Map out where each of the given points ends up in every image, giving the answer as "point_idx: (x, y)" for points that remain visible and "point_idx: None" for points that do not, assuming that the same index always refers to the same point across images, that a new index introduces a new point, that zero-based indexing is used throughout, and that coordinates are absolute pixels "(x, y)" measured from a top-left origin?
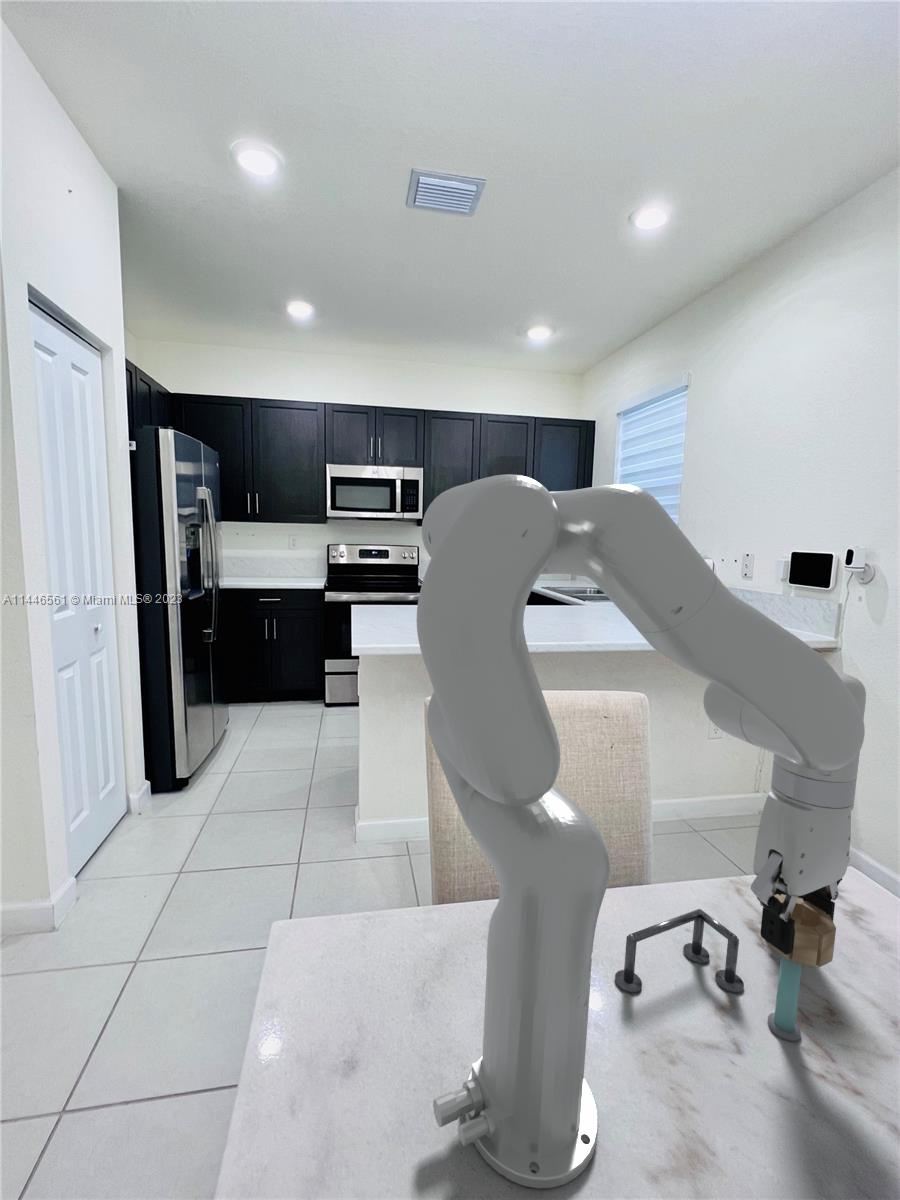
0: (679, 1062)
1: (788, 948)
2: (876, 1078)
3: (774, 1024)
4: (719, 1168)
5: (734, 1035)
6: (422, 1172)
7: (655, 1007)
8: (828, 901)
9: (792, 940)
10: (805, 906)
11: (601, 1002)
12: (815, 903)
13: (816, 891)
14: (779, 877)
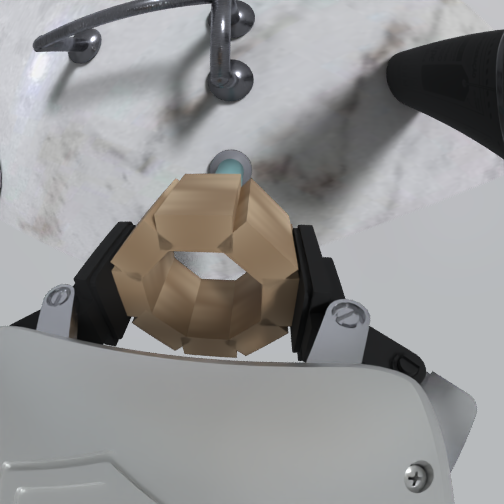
0: (72, 158)
1: None
2: None
3: (216, 165)
4: (59, 239)
5: (155, 150)
6: None
7: (91, 87)
8: (301, 353)
9: None
10: (263, 291)
11: (43, 71)
12: (295, 309)
13: (307, 337)
14: (463, 78)
